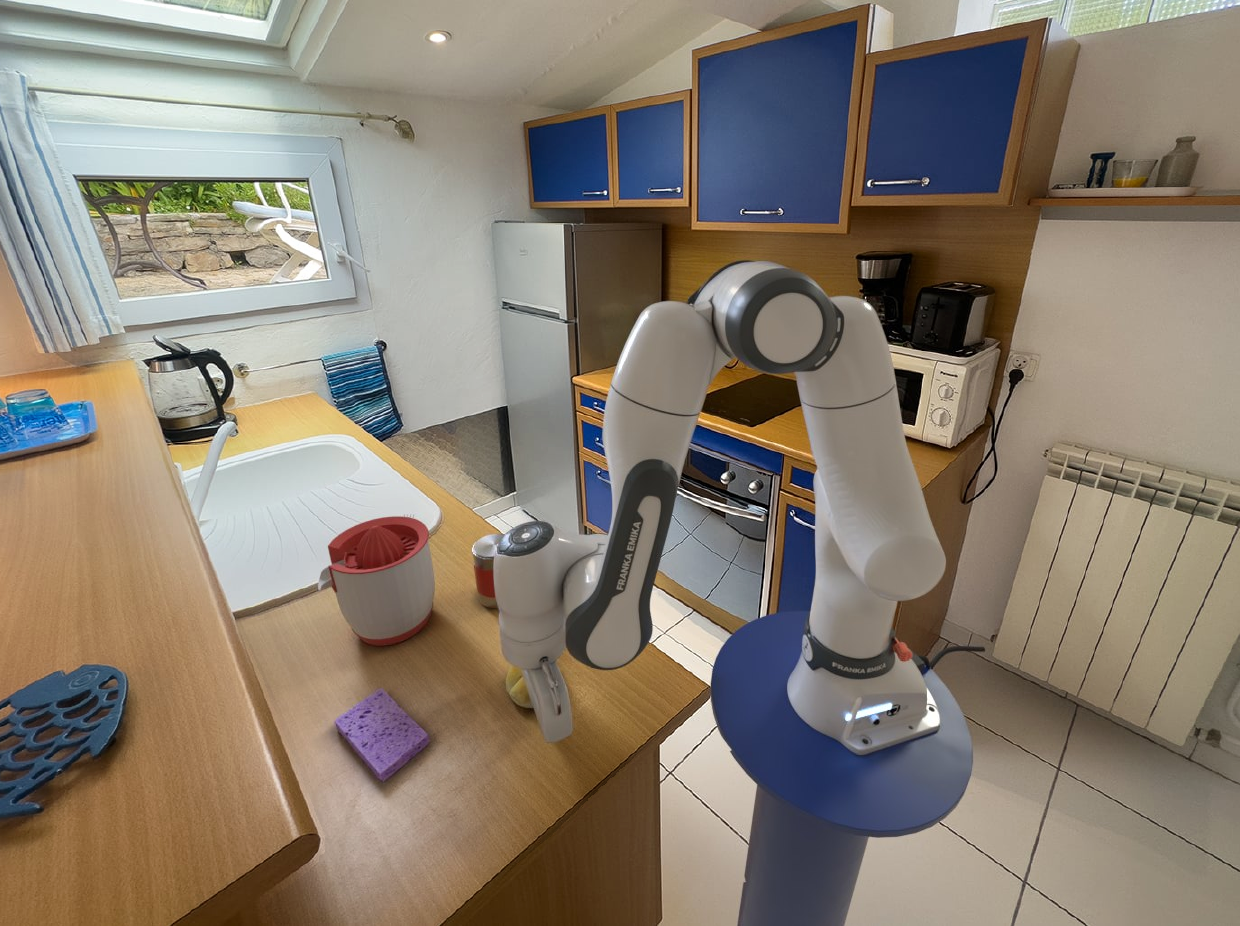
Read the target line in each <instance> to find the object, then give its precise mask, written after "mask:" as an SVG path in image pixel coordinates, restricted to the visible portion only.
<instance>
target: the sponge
mask: <svg viewBox="0 0 1240 926" xmlns="http://www.w3.org/2000/svg"><path fill="white" fill-rule="evenodd" d="M333 723H334V724H335V727H336V730H337V731H338V732H339V733H340V734H341V736H342V737H343V738H344V740H346V741H347V743H348V744H349V745H350V747H352V749H353V750H354V751H355V753H356V754H357V755H358V757H360V758H361V760H362V761H364V763H365V764H366V766H367V767H368V768H369V769H370V770H371V771H372V773H373V774H374V775H375V776H376V778H377V779H378V780H379V781H382V783H384V782H385V781H387V779H389V778H390V777H392V776H393V775H394V774H395V773H396V772H397V771H398V770H400V769H401V768H403V767H404V765H406V764H407V763H408V762H409V761H410V759H413V758H414V757H415V756H417V754H418V753H420V752H421V751H422V750H423V749H425V748H426V747H427V746H428V745H429V743H430V742H431V741H430V737H429V734H428V733H427V732H426V731H425V729H423V728H422V727H421V726H420V725H419V724H418V723H417V722H416V721H414V719H412V717H410V716H409V715H408V713H406V712H405V710H403V708H401V707H399V704H397V702H396V701H395V700H394V699H393V698H392V697H391V696H390V695H389V694H388V693H387V692H386V691H385V690H384V689H383V688H382V687H379V688H377V689H376V690H374V691H373V692H372V693H370V694H369V695H368V696H366V697H364V699H363V701H359V702H358V703H356V704H355V705H353V707H352V708H350V709H349V710H347V711H346V712H343V713H342V714H341V715H339V716H338V717H337V718H335V719H334V720H333Z"/></svg>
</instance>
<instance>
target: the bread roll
mask: <svg viewBox="0 0 1240 926" xmlns="http://www.w3.org/2000/svg"><path fill="white" fill-rule="evenodd" d="M560 672H561V674H562V676H563V677H564V675H563V673H562V671H561V670H560ZM505 690H506V692H507V694H509V697H510V699H511V700H512V701H513V703H515V705H518V706H519V707H521V708H525V709H534V708H533V705H532V702H531V699H530V696H529V693H528V691H527V688H526V685H525V682H524V679H523V676H522V673H521V670H520V668H518V667H515V666H513V665H511V664H510V667H509V668H508V671H507V674H506V678H505Z"/></svg>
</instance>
